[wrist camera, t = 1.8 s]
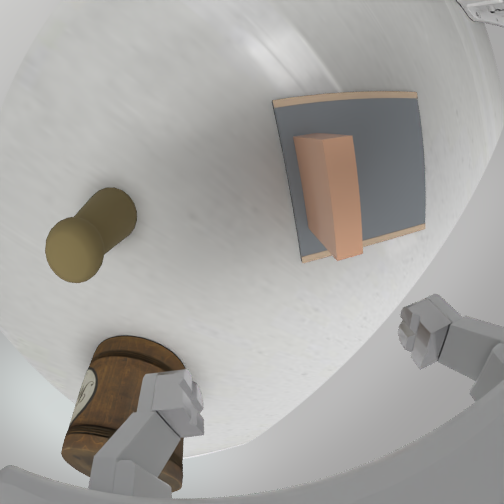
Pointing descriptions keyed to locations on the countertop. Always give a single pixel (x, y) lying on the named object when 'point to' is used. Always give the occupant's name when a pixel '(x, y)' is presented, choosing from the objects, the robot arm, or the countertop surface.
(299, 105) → the mat
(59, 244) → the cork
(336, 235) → the tile
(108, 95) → the countertop surface
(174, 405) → the robot arm
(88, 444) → the wooden container
